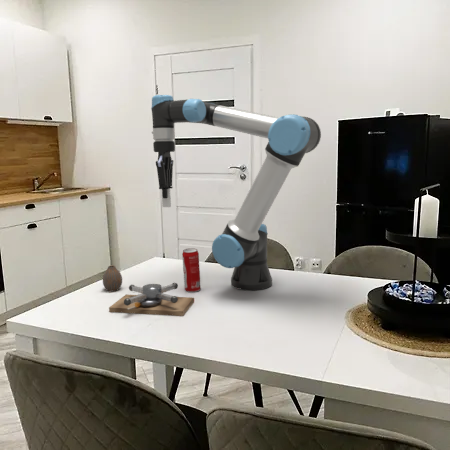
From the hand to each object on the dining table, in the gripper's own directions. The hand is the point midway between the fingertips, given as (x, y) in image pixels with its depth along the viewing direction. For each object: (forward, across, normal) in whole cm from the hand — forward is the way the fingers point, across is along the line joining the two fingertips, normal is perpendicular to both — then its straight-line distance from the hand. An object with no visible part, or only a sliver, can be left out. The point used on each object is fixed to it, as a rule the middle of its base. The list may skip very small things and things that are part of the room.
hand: (166, 206), depth 164 cm
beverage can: (+30, +5, +10) cm, 32 cm away
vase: (+30, +8, -19) cm, 36 cm away
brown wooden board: (+29, +24, +2) cm, 38 cm away
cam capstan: (+28, +24, +2) cm, 36 cm away
